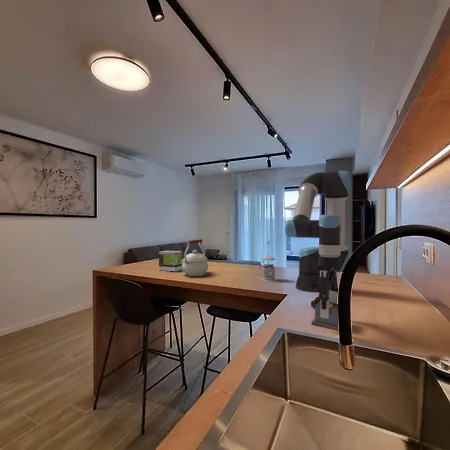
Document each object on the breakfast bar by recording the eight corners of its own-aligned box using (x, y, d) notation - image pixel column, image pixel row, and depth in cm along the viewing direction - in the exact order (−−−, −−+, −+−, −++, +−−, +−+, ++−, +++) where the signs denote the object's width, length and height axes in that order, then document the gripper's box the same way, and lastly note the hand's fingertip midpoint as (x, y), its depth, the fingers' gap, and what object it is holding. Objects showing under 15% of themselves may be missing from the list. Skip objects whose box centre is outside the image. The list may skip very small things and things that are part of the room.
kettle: (195, 279, 173) (195, 241, 172) (174, 276, 183) (174, 240, 182) (216, 272, 194) (216, 238, 193) (197, 270, 204) (197, 238, 203)
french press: (271, 282, 164) (272, 242, 164) (255, 279, 171) (255, 241, 171) (278, 279, 172) (279, 241, 171) (263, 277, 179) (263, 240, 178)
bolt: (311, 312, 117) (332, 305, 125) (320, 309, 113) (340, 302, 121) (306, 299, 119) (326, 293, 127) (314, 296, 115) (334, 290, 123)
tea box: (182, 270, 204) (182, 251, 204) (174, 272, 195) (174, 252, 195) (166, 268, 210) (166, 250, 210) (158, 270, 201) (158, 251, 201)
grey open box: (320, 315, 105) (320, 300, 105) (342, 319, 101) (342, 303, 101) (314, 321, 99) (315, 305, 98) (337, 326, 94) (338, 309, 94)
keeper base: (318, 316, 107) (318, 313, 107) (345, 321, 101) (345, 319, 101) (311, 324, 98) (311, 321, 98) (340, 330, 93) (340, 328, 93)
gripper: (326, 251, 111) (326, 302, 112) (309, 258, 91) (309, 320, 91) (346, 253, 107) (345, 305, 108) (332, 260, 87) (331, 325, 87)
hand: (328, 312), depth 100 cm, fingers open, 12 cm apart
